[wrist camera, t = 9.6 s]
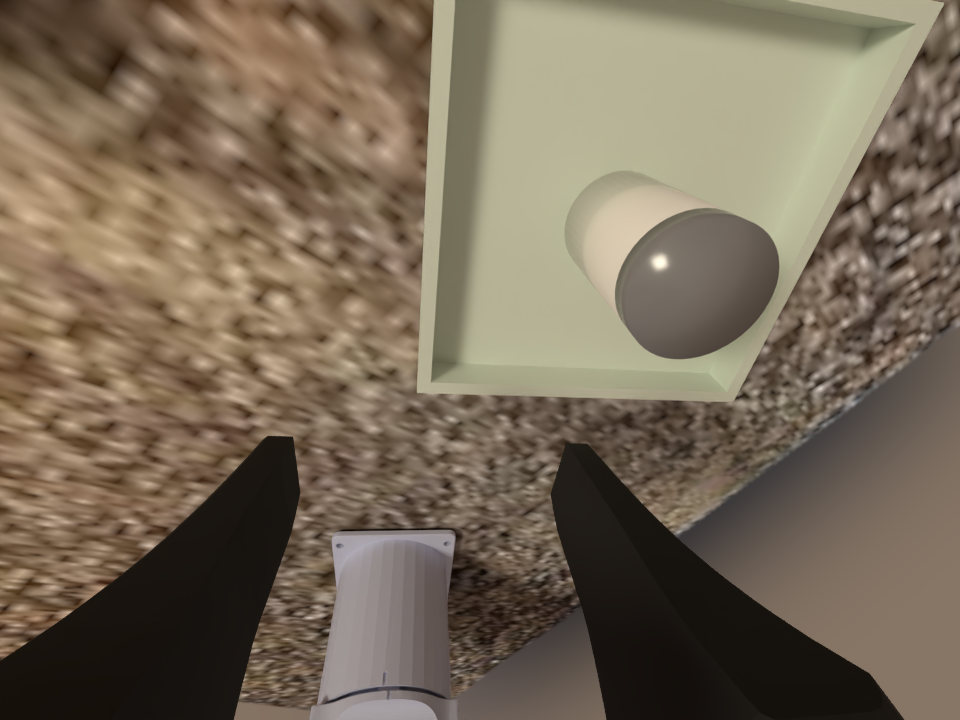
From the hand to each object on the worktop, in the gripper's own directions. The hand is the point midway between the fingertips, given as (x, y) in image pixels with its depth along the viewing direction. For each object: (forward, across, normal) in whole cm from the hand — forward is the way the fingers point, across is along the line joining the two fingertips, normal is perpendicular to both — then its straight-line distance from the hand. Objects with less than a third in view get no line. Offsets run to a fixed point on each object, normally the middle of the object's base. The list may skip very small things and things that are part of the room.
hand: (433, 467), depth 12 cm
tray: (+10, -8, -5) cm, 14 cm away
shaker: (+9, -8, -5) cm, 13 cm away
